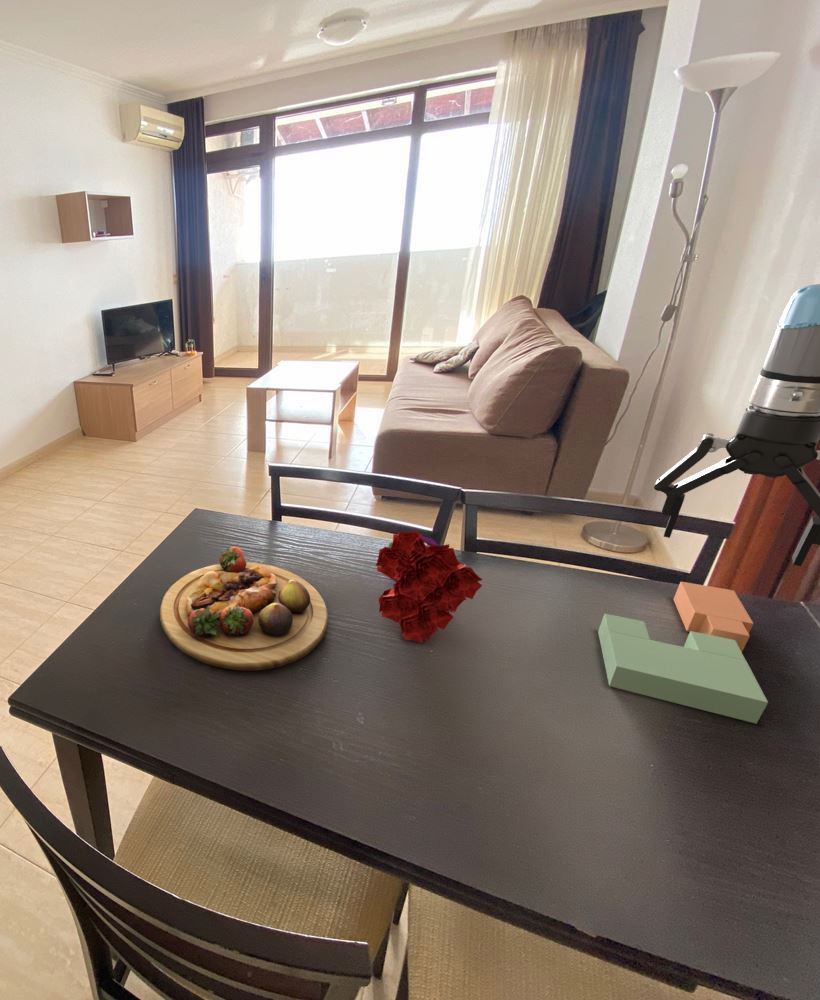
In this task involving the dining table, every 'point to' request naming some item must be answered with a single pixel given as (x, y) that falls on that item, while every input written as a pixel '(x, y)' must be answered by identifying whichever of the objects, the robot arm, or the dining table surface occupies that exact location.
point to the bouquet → (423, 584)
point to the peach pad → (713, 612)
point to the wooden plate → (243, 614)
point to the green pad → (681, 669)
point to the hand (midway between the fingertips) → (728, 547)
